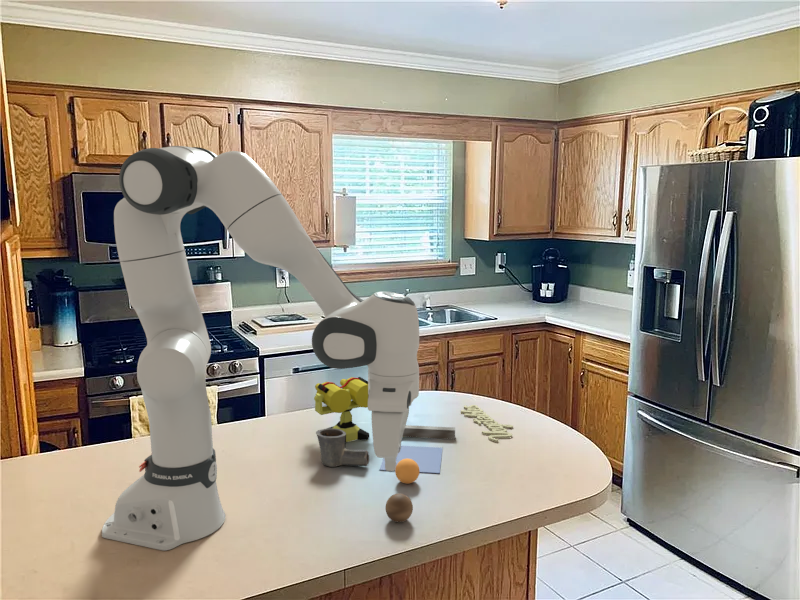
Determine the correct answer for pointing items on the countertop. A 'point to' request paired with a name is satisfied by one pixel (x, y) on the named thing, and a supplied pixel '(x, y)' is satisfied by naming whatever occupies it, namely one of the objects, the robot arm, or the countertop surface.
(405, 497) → the walnut ball
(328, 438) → the pipe
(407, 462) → the orange ball
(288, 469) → the countertop surface
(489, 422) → the decorative sign
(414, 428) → the rail
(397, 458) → the blue mark
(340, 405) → the toy
